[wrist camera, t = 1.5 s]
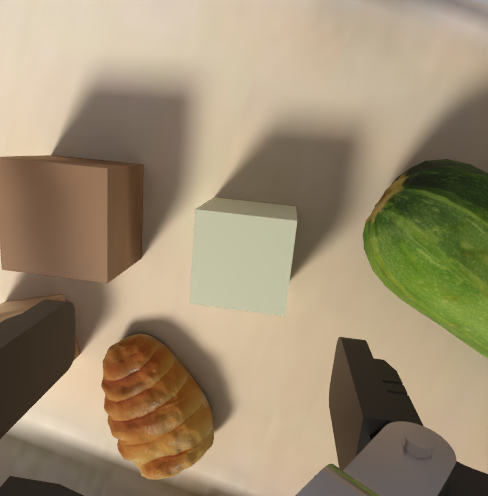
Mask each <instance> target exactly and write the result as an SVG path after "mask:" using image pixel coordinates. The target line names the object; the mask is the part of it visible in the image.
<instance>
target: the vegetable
mask: <svg viewBox="0 0 488 496" xmlns="http://www.w3.org/2000/svg"><path fill="white" fill-rule="evenodd" d="M363 239H364V250H365V253H366V255H367V257H368V260H369V262H370V265H371V267H372V269H373V271H374V272H375V274H376V275H377V276H378V277H379V279H380V280H381V281H382V282H383V283H384V285H385V286H386V287H387V288H388V289H389V290H391V291H392V292H393V293H394V294H395V295H397V296H398V297H399V298H400V299H401V300H403V301H404V302H406V303H407V304H409V305H410V306H412V307H413V308H415V309H416V310H418V311H419V312H421V313H422V314H424V315H425V316H427V317H428V318H430V319H432V320H433V321H435V322H436V323H438V324H439V325H441V326H442V327H443V328H445V329H446V330H448V331H449V332H450V333H452V334H453V335H455V336H456V337H457V338H459V339H460V340H462V341H463V342H465V343H466V344H467V345H469V346H470V347H472V348H473V349H475V350H476V351H477V352H479V353H480V354H482V355H483V356H485V357H486V358H488V173H486V172H484V171H482V170H480V169H478V168H476V167H474V166H472V165H470V164H465V163H461V162H456V161H452V160H447V159H445V160H432V161H425V162H423V163H420V164H418V165H416V166H414V167H412V168H410V169H409V170H407V171H406V172H405V173H403V174H402V175H400V176H399V177H398V178H397V179H396V180H395V181H394V182H393V183H392V184H391V186H390V187H389V188H388V189H387V190H386V191H385V192H384V194H383V196H382V197H381V199H380V200H379V202H378V203H377V204H376V205H375V208H374V210H373V211H372V213H371V215H370V216H369V218H368V219H367V220H366V223H365V228H364V232H363Z"/></svg>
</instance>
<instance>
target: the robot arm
mask: <svg viewBox="0 0 488 496" xmlns="http://www.w3.org/2000/svg"><path fill="white" fill-rule="evenodd" d="M75 349H76V346H75V310H74V306H73V304H72V303H71V302H66V301H58V300H50V299H44V300H42V301H41V302H39V303H38V304H36V305H34V306H33V307H31V308H30V309H28V310H26V311H25V312H23V313H21V314H19V315H16V316H13V317H10V318H7V319H5V320H4V321H2V322H0V439H1V438H2V437H3V436H4V435H5V434H6V433H7V432H8V431H9V429H10V428H11V427H12V426H13V425H14V424H15V423H16V422H17V421H18V420H19V419H20V418H21V417H22V416H23V415H24V414H25V413H26V412H27V411H28V410H29V409H30V408H31V407H32V406H33V405H34V404H35V403H36V402H37V401H38V400H39V399H40V398H41V397H42V396H43V395H44V394H45V393H46V392H47V391H48V390H49V389H50V388H51V387H52V386H53V385H54V384H55V383H56V382H57V381H58V380H59V379H60V378H61V377H62V376H63V375H64V374H65V373H66V372H67V371H68V369H69V368H70V366H71V365H72V362H73V360H74V356H75ZM329 408H330V414H331V420H332V426H333V432H334V438H335V445H336V451H337V457H338V463H339V468H338V467H336V466H335V465H333V464H329V465H327V466H325V467H324V468H323V469H322V470H321V471H320V472H319V473H318V474H317V475H316V476H315V477H314V478H313V479H312V480H311V481H310V482H309V483H308V484H307V485H306V486H305V487H304V488H303V489H302V490H301V491H300V492H299V493H298V494H297V495H296V496H488V474H486V473H483V472H480V471H478V470H475V469H472V468H470V467H467V466H465V465H463V464H461V463H459V462H457V461H456V456H455V453H454V451H453V449H452V447H451V446H450V445H449V444H448V443H447V442H446V440H444V439H443V438H442V437H441V436H440V435H438V434H437V433H435V432H434V431H432V430H430V429H428V428H426V427H424V426H423V424H422V422H421V420H420V418H419V416H418V414H417V412H416V410H415V408H414V406H413V404H412V402H411V400H410V398H409V396H407V391H406V389H405V387H404V385H402V381H401V379H400V377H399V375H398V373H397V371H396V370H395V369H394V368H392V367H391V366H390V365H389V364H388V363H387V362H386V361H385V360H381V359H373V356H372V354H371V351H370V349H369V347H368V344H367V342H366V340H359V339H352V338H344V337H339V338H338V341H337V346H336V352H335V358H334V364H333V370H332V376H331V382H330V390H329ZM0 496H83V495H81V494H79V493H77V492H75V491H73V490H71V489H69V488H66V487H64V486H62V485H60V484H55V483H49V482H43V481H37V480H31V479H25V478H19V477H13V476H10V477H9V478H8V479H7V480H6V481H5V482H4V484H3V485H2V486H1V487H0Z"/></svg>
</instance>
